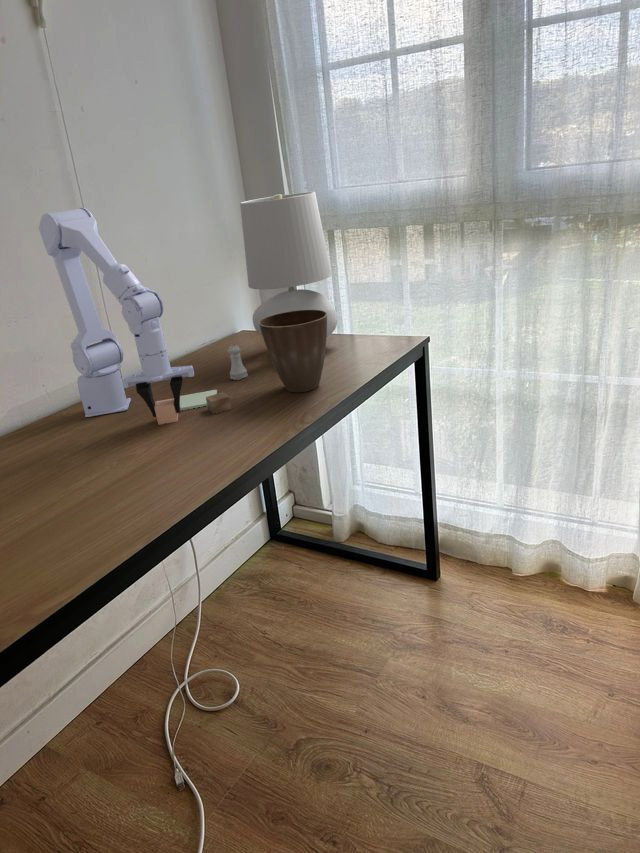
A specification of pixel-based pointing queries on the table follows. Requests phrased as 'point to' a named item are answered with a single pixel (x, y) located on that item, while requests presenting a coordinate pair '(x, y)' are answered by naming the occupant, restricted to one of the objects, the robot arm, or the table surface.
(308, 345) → the plant pot
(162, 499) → the table surface
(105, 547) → the table surface
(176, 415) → the terracotta brick
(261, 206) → the table lamp
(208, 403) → the walnut brick
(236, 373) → the rook chess piece
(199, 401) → the base tile
